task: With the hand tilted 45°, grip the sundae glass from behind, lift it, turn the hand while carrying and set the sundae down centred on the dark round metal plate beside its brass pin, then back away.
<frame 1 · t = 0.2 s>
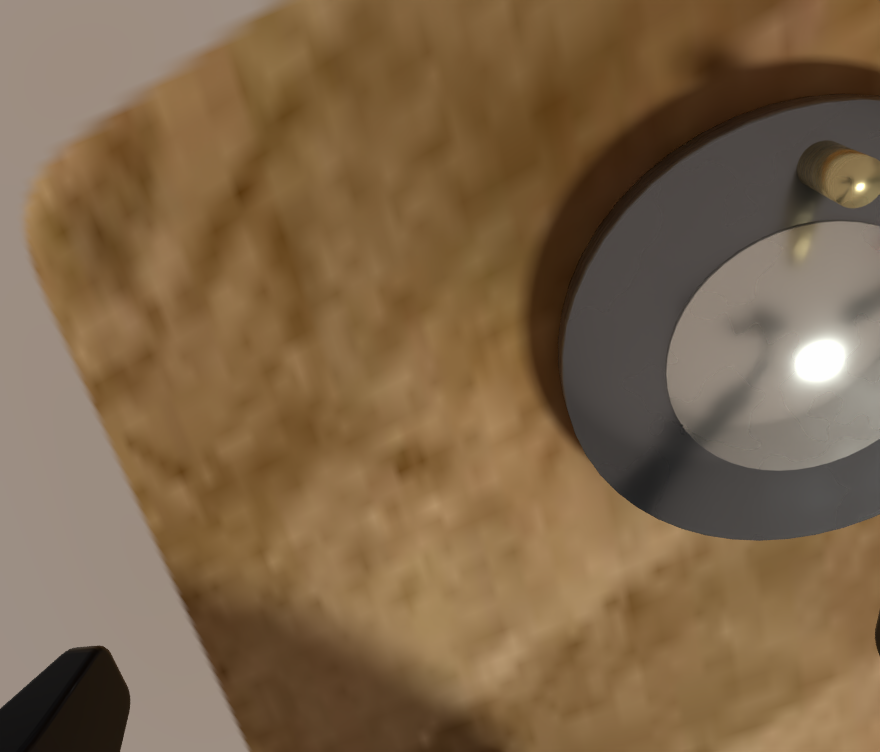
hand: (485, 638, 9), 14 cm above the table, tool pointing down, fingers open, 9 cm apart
plate: (787, 336, 23), on the table
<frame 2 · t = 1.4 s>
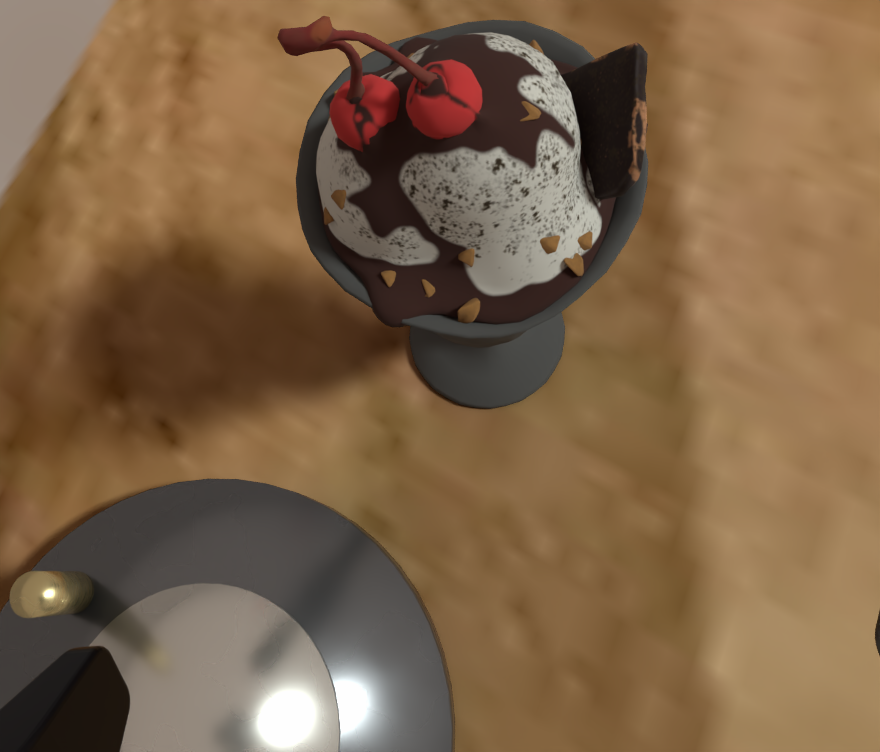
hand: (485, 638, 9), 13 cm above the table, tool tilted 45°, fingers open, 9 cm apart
plate: (214, 726, 21), on the table
sundae: (485, 337, 24), on the table
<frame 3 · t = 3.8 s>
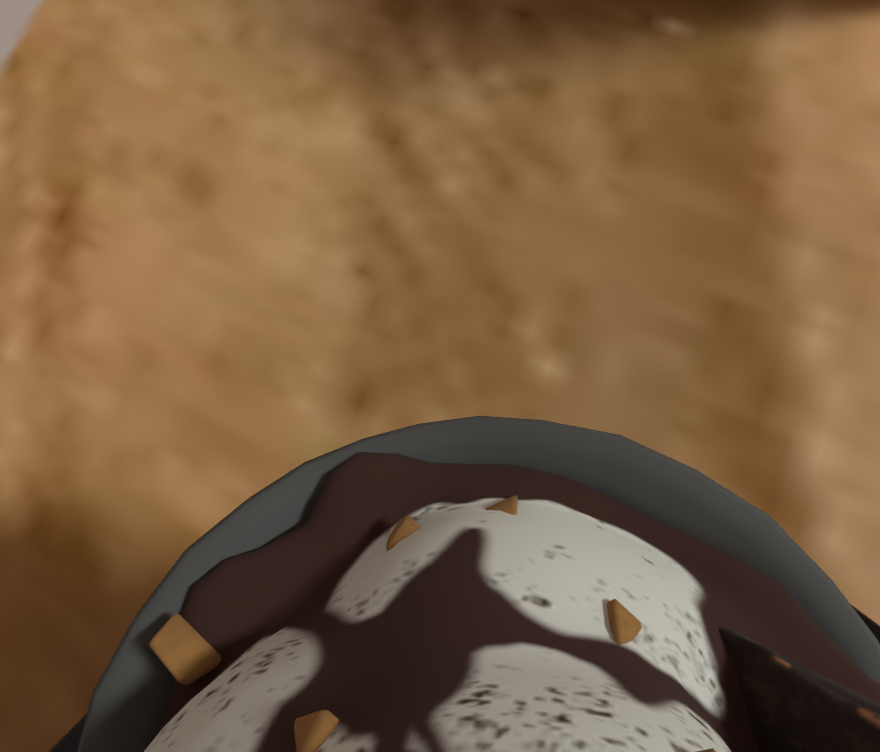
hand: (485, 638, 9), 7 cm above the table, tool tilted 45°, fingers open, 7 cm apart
sundae: (504, 682, 15), on the table, touching gripper
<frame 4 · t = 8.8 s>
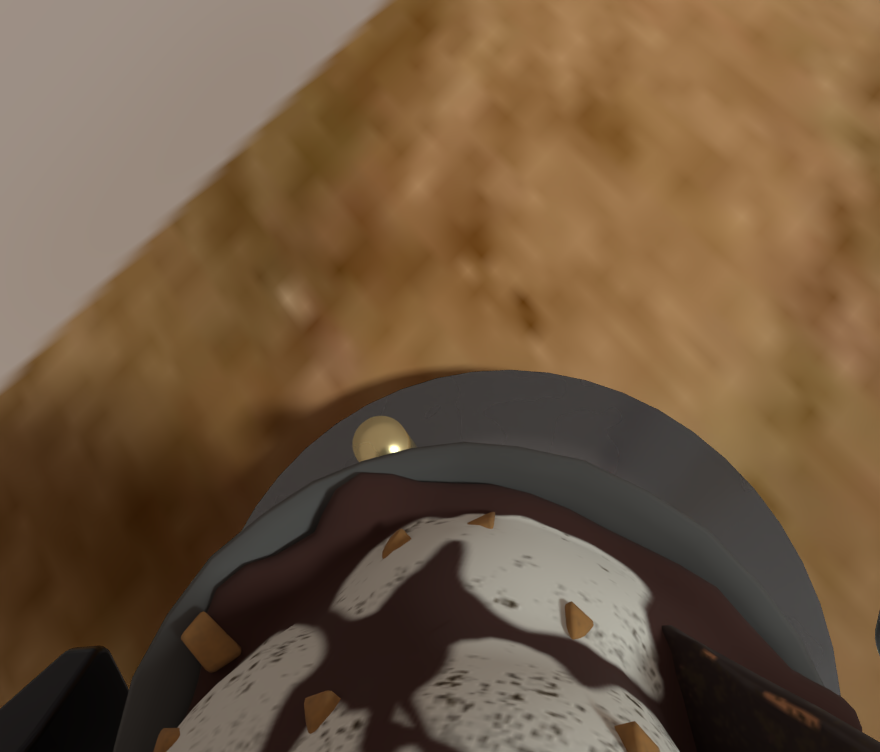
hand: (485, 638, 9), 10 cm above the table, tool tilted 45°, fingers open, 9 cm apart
plate: (506, 669, 17), on the table
sundae: (499, 676, 16), point 1 cm above the table, touching plate
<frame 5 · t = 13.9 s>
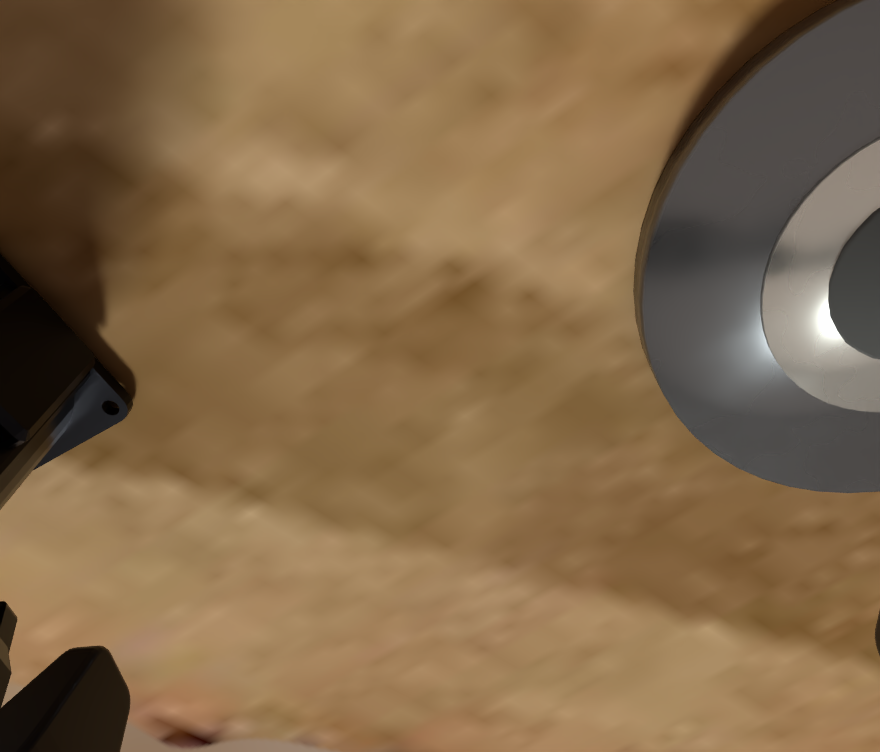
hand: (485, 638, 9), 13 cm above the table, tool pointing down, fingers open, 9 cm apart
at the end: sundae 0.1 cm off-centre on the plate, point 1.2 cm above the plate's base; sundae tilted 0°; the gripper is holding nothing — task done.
